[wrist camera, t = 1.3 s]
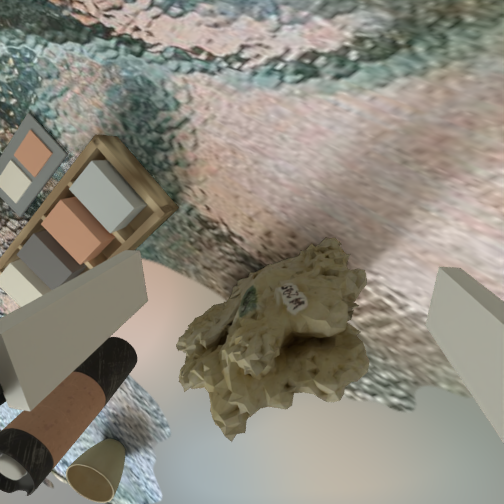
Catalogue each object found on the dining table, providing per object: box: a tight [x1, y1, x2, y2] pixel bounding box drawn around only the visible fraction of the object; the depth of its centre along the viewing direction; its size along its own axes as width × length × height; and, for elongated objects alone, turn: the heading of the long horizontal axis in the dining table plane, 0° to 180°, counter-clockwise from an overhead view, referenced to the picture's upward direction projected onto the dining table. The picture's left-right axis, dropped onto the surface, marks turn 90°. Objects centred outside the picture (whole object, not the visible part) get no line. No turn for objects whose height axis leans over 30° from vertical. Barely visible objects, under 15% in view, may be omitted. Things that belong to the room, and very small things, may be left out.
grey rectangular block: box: [17, 230, 87, 290], centre depth 40 cm, size 7×5×3 cm
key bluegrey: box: [69, 160, 148, 233], centre depth 35 cm, size 7×5×3 cm
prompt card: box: [0, 113, 68, 217], centre depth 41 cm, size 7×14×1 cm, turn 131°
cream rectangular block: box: [0, 259, 52, 307], centre depth 42 cm, size 7×5×3 cm
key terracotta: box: [41, 197, 115, 265], centre depth 37 cm, size 7×5×3 cm
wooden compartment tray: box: [0, 135, 179, 276], centre depth 41 cm, size 12×29×4 cm, turn 131°
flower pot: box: [66, 439, 125, 503], centre depth 55 cm, size 10×10×7 cm
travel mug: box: [0, 337, 137, 496], centre depth 40 cm, size 8×8×20 cm
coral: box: [176, 238, 369, 441], centre depth 30 cm, size 25×10×20 cm, turn 124°
